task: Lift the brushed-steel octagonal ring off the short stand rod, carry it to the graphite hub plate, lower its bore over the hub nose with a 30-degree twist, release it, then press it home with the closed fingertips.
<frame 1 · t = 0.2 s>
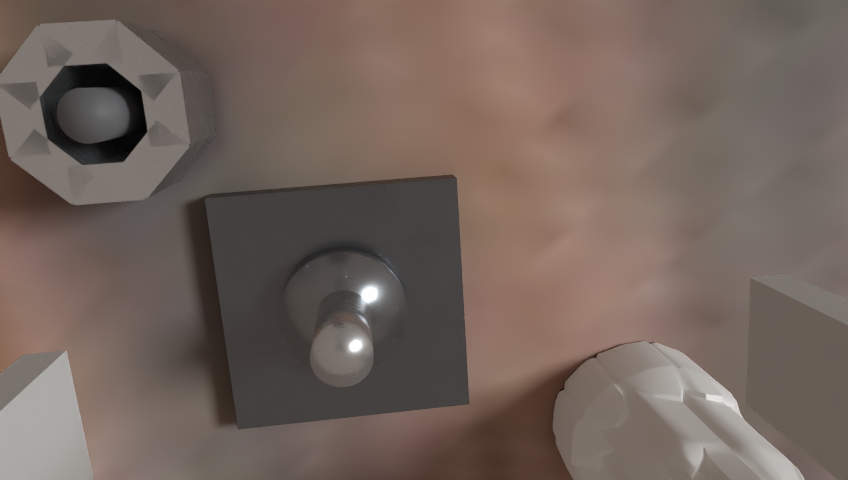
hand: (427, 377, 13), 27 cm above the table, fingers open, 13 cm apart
hub: (344, 299, 41), on the table
stand: (141, 109, 37), on the table
steel ring: (136, 109, 36), point 1 cm above the table, touching stand
decorative vase: (631, 415, 45), on the table
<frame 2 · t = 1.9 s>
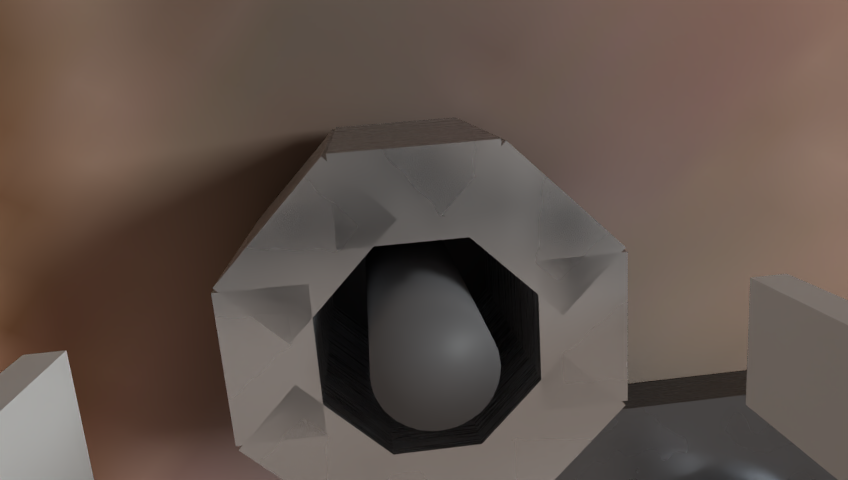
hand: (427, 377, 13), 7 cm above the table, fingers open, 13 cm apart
stand: (405, 255, 20), on the table
steel ring: (408, 265, 19), point 1 cm above the table, touching stand
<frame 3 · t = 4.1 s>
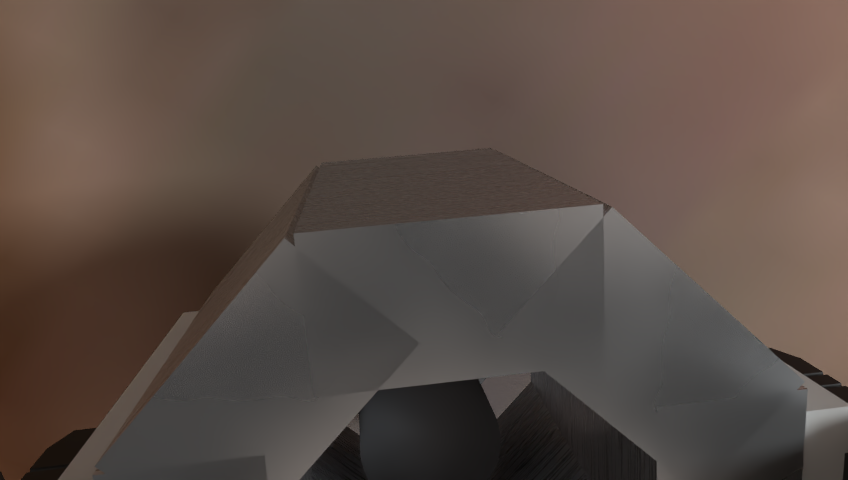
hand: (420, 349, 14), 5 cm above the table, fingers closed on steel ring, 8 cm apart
stand: (398, 306, 19), on the table
steel ring: (422, 352, 14), point 6 cm above the table, touching gripper
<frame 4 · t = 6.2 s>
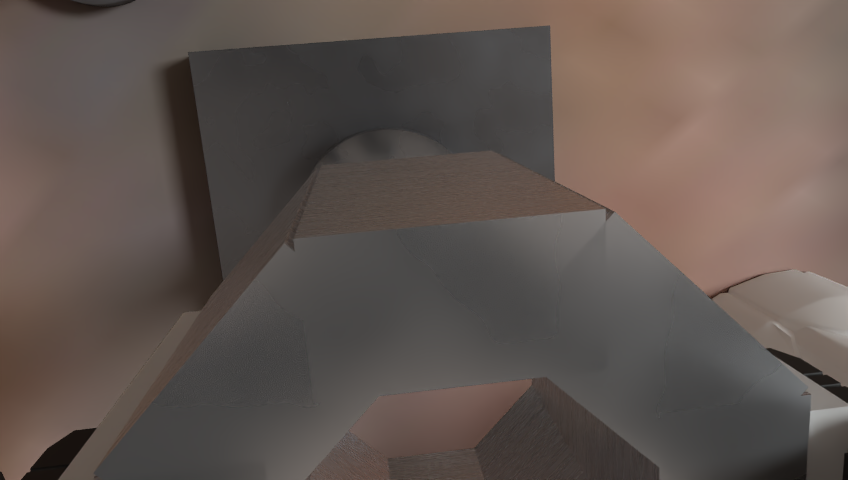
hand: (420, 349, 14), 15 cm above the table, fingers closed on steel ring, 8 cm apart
hub: (387, 208, 29), on the table
steel ring: (423, 355, 14), point 16 cm above the table, touching gripper
decorative vase: (769, 373, 33), on the table
when the fingers open (3 cm above the table, at t = 8.6 s): steel ring stays where it is, resting on hub.
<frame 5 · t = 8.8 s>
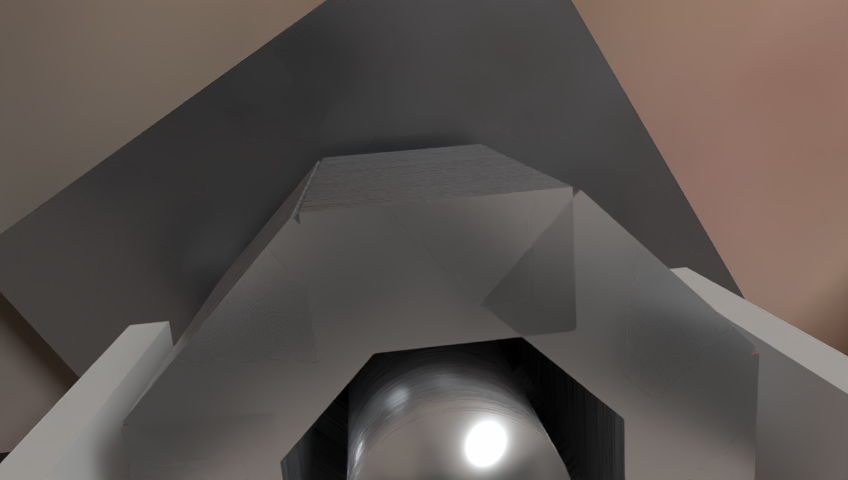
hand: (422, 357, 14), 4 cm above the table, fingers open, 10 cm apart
hub: (408, 302, 18), on the table
steel ring: (418, 336, 15), point 3 cm above the table, touching hub
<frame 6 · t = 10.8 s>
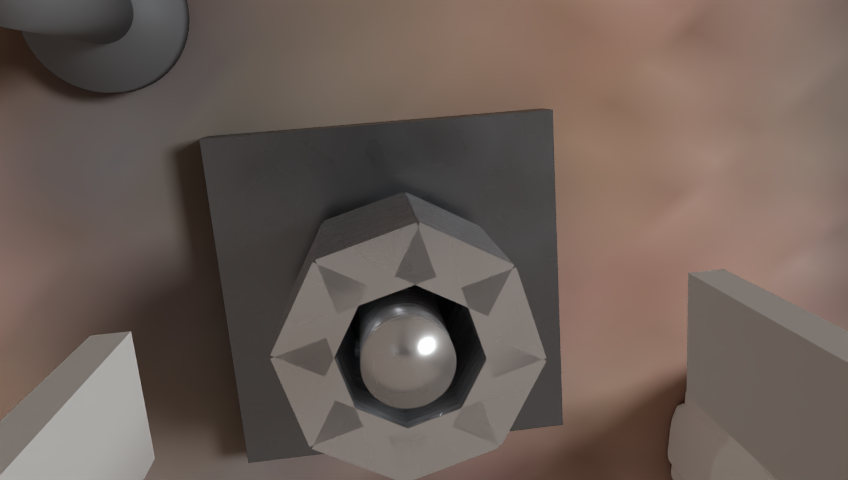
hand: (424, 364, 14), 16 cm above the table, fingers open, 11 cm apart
hub: (392, 282, 30), on the table
stand: (109, 13, 26), on the table
steel ring: (399, 299, 27), point 3 cm above the table, touching hub
decorative vase: (769, 436, 34), on the table
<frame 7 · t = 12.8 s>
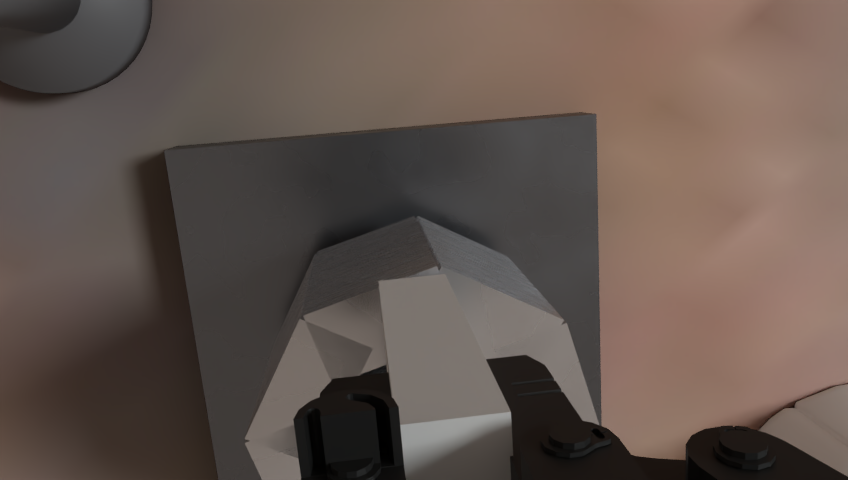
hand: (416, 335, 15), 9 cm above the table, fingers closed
hub: (400, 320, 25), on the table
steel ring: (409, 345, 22), point 3 cm above the table, touching gripper, hub
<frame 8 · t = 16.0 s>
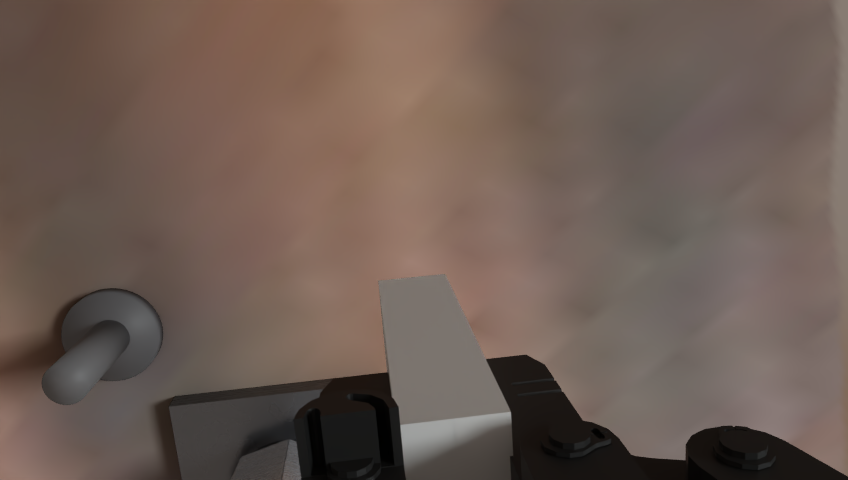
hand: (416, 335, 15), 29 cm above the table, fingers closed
hub: (291, 475, 48), on the table
stand: (115, 332, 44), on the table
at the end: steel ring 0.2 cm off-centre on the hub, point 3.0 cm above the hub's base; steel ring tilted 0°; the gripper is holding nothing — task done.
